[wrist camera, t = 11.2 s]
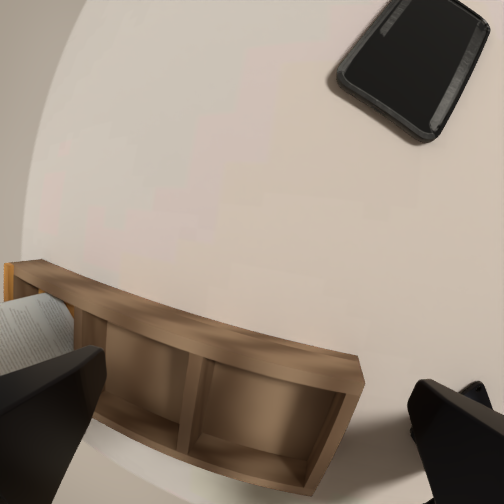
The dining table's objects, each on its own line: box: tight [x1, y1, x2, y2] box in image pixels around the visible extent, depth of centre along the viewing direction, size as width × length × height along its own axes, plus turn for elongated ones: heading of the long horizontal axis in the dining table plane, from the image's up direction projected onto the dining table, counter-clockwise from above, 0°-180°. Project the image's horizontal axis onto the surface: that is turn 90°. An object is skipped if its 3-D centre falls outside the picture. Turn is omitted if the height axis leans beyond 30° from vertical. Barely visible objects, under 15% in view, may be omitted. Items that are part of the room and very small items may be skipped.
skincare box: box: [0, 292, 74, 376], centre depth 16 cm, size 6×4×12 cm
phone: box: [337, 0, 491, 143], centre depth 16 cm, size 8×1×15 cm
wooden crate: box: [4, 259, 365, 496], centre depth 19 cm, size 27×10×5 cm, turn 78°
